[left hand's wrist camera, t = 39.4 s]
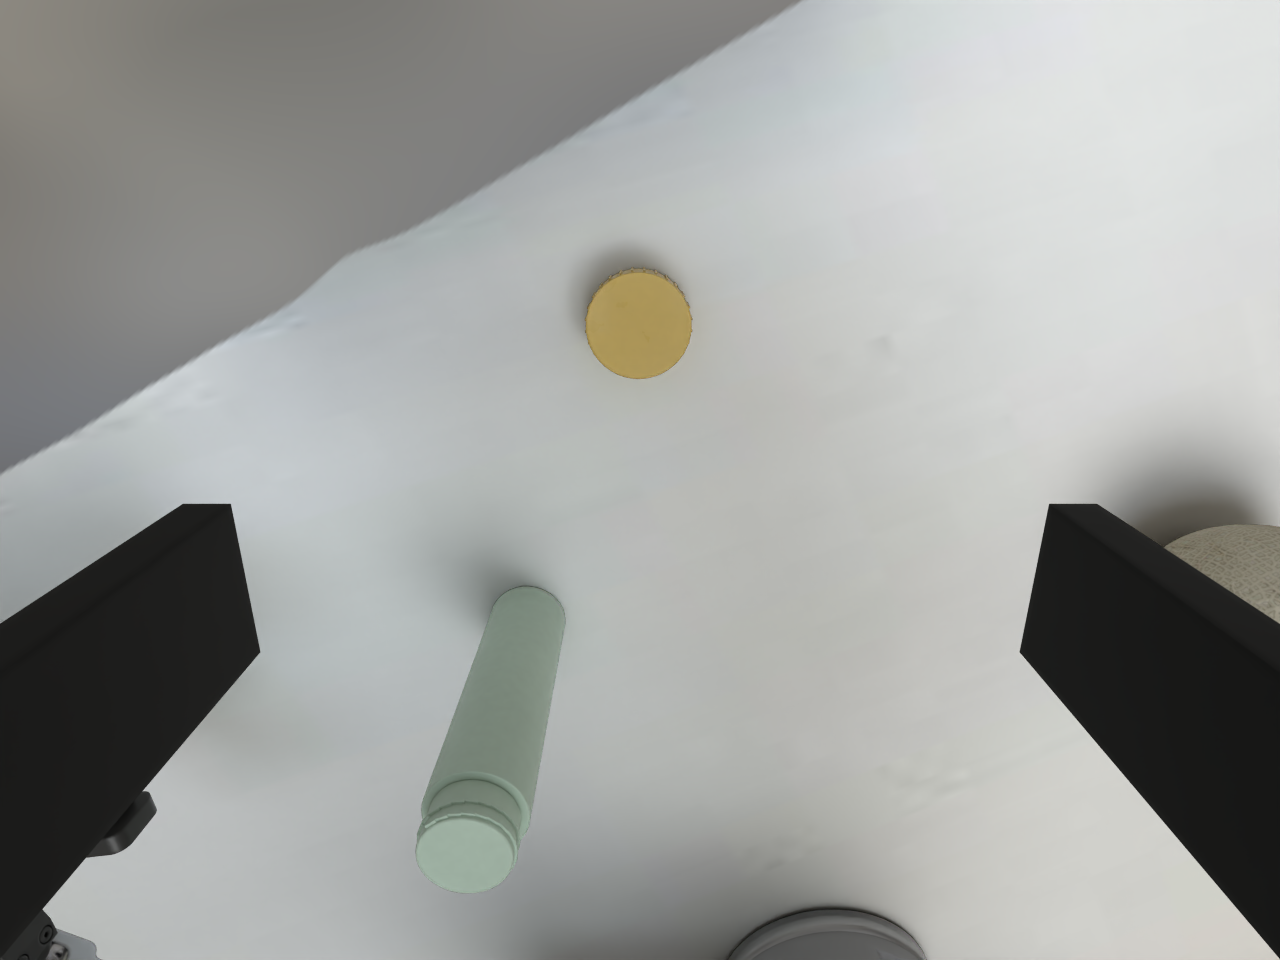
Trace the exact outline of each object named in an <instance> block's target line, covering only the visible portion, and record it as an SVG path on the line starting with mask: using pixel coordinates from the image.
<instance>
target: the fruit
mask: <svg viewBox="0 0 1280 960" xmlns="http://www.w3.org/2000/svg"><path fill="white" fill-rule="evenodd" d="M1163 548H1165V549H1167V550H1168V551H1170V552H1171V553H1173V554H1174V555H1176V556H1177V557H1179V558H1180V559H1182V560H1183V561H1185V562H1186V563H1188V564H1189V565H1191V566H1192V567H1194V568H1196V569H1197V570H1199V571H1200V572H1202V573H1203V574H1205V575H1206V576H1208V577H1209V578H1211V579H1212V580H1214V581H1215V582H1217V583H1218V584H1220V585H1221V586H1223V587H1225V588H1226V589H1228V590H1229V591H1231V592H1232V593H1234V594H1235V595H1237V596H1238V597H1240V598H1241V599H1243V600H1244V601H1246V602H1247V603H1249V604H1250V605H1252V606H1254V607H1255V608H1257V609H1258V610H1260V611H1261V612H1263V613H1264V614H1266V615H1267V616H1269V617H1270V618H1272V619H1273V620H1275V621H1276V622H1278V623H1279V624H1280V527H1276V526H1270V525H1244V524H1233V525H1224V526H1218V527H1210V528H1206V529H1203V530H1199V531H1196V532H1193V533H1190V534H1187V535H1185V536H1182V537H1180V538H1179V539H1177V540H1175V541H1173V542H1171V543H1169V544H1168V545H1166V546H1165V547H1163Z"/></svg>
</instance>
